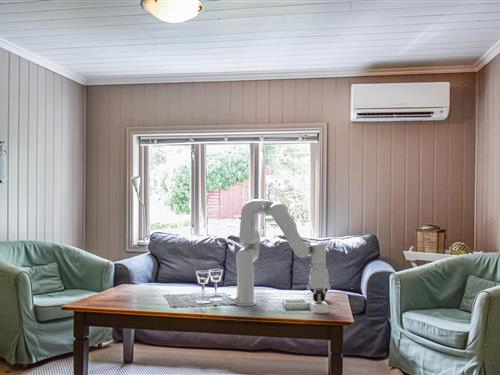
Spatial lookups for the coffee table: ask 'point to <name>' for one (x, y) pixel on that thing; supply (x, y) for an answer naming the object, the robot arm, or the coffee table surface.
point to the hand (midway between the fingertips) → (318, 300)
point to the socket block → (318, 307)
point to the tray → (295, 304)
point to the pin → (319, 296)
